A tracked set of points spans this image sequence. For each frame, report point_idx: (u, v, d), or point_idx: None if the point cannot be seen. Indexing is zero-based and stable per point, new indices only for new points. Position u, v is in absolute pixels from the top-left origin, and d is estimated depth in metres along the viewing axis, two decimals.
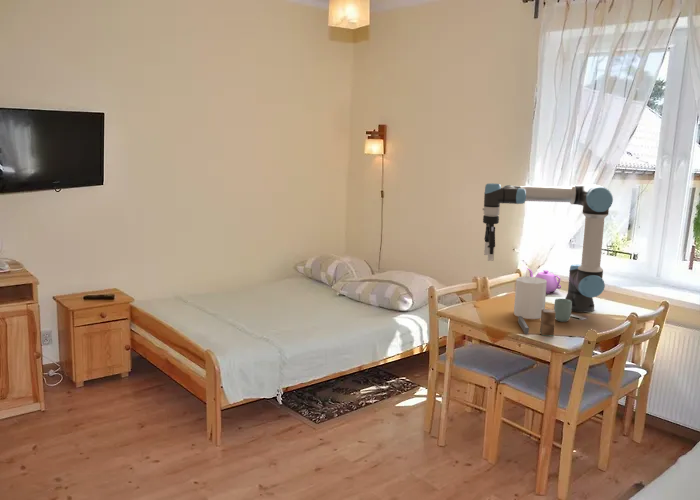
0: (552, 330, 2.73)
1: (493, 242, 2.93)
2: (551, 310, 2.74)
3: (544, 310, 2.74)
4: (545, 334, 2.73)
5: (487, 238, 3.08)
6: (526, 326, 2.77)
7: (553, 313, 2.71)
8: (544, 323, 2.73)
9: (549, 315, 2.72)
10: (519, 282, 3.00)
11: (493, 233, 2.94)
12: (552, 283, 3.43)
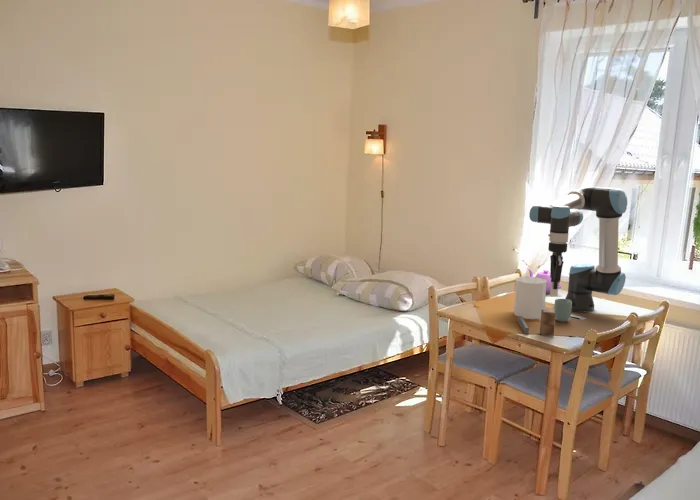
0: (552, 330, 2.73)
1: (558, 277, 2.59)
2: (551, 310, 2.74)
3: (544, 310, 2.74)
4: (545, 334, 2.73)
5: None
6: (526, 326, 2.77)
7: (553, 313, 2.71)
8: (544, 323, 2.73)
9: (549, 315, 2.72)
10: (519, 282, 3.00)
11: (560, 268, 2.57)
12: None
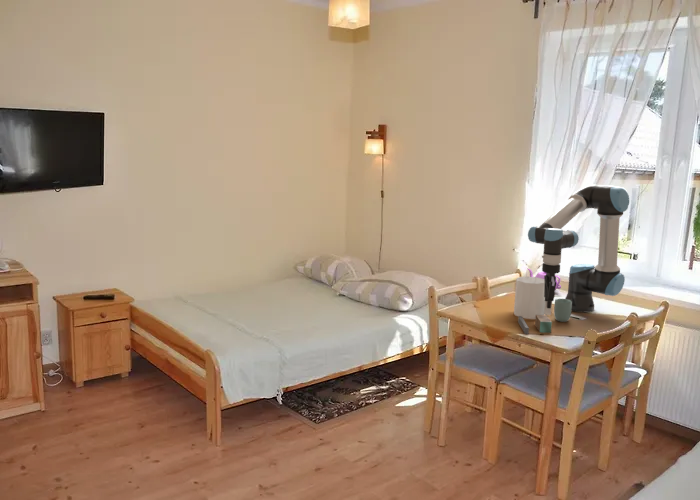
0: (548, 320, 2.80)
1: (552, 297, 2.70)
2: None
3: None
4: (543, 321, 2.78)
5: None
6: (526, 326, 2.77)
7: (544, 315, 2.88)
8: (539, 318, 2.83)
9: (541, 315, 2.87)
10: (519, 282, 3.00)
11: (553, 288, 2.68)
12: None
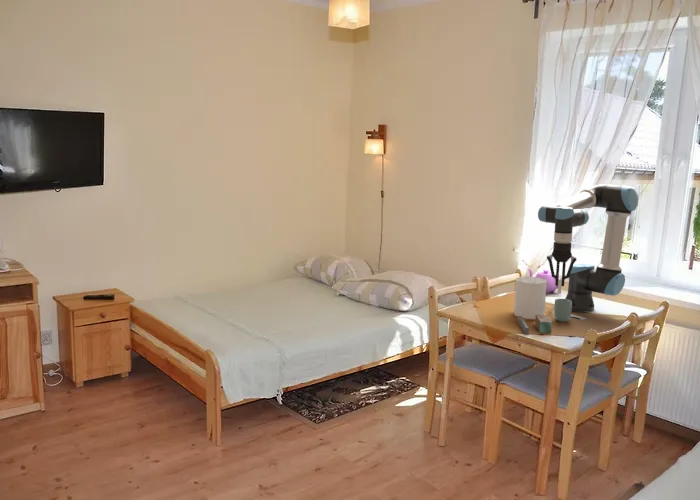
0: (548, 320, 2.80)
1: (569, 273, 2.75)
2: None
3: None
4: (543, 321, 2.78)
5: (558, 272, 2.76)
6: (526, 326, 2.77)
7: (544, 315, 2.88)
8: (539, 318, 2.83)
9: (541, 315, 2.87)
10: (519, 282, 3.00)
11: None
12: (552, 283, 3.43)
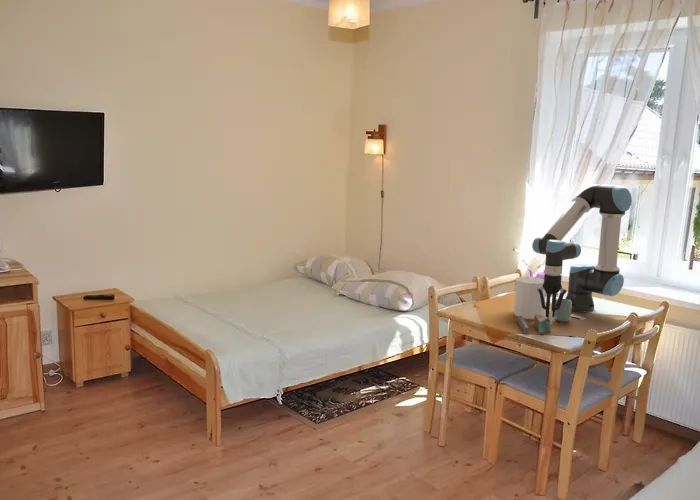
0: (547, 320, 2.80)
1: None
2: None
3: None
4: (542, 321, 2.78)
5: None
6: (526, 326, 2.77)
7: (543, 315, 2.88)
8: (538, 317, 2.83)
9: (540, 315, 2.87)
10: (519, 282, 3.00)
11: None
12: None
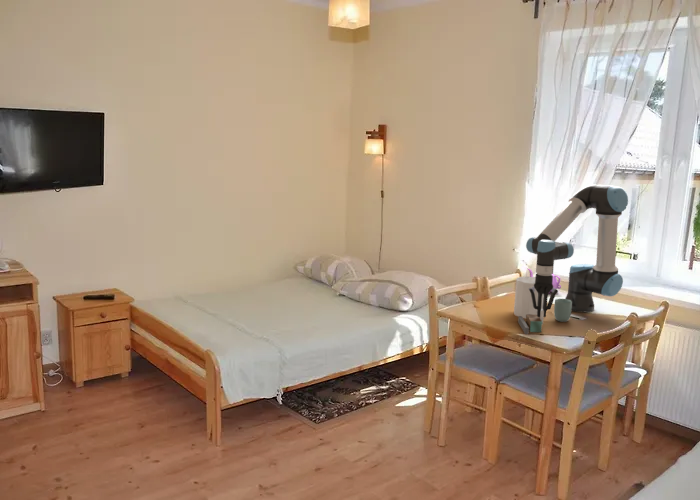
0: (539, 319, 2.80)
1: None
2: None
3: None
4: (533, 321, 2.79)
5: None
6: (526, 326, 2.77)
7: (535, 315, 2.88)
8: (529, 317, 2.84)
9: (531, 315, 2.87)
10: (519, 282, 3.00)
11: None
12: (552, 283, 3.43)
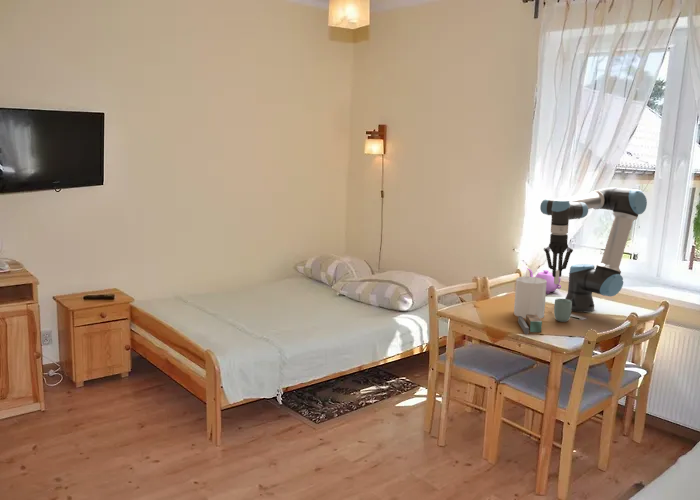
0: (539, 320, 2.80)
1: None
2: None
3: None
4: (533, 321, 2.79)
5: None
6: (526, 326, 2.77)
7: (535, 315, 2.88)
8: (529, 317, 2.84)
9: (531, 315, 2.87)
10: (519, 282, 3.00)
11: None
12: (552, 283, 3.43)
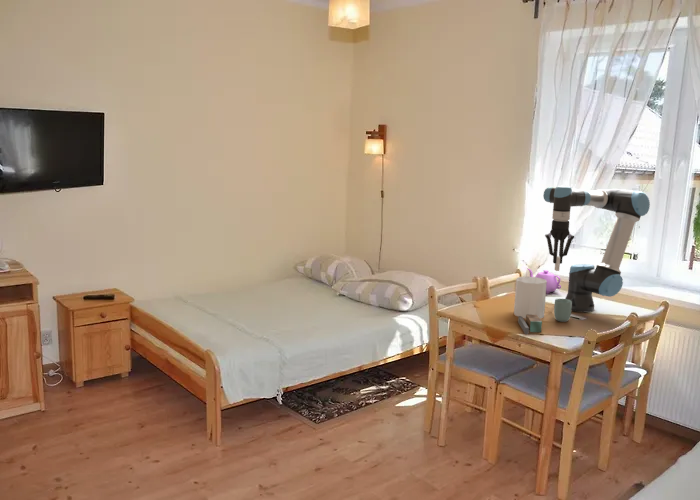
0: (539, 320, 2.80)
1: None
2: None
3: None
4: (533, 321, 2.79)
5: None
6: (526, 326, 2.77)
7: (535, 315, 2.88)
8: (529, 317, 2.84)
9: (531, 315, 2.87)
10: (519, 282, 3.00)
11: None
12: (552, 283, 3.43)
